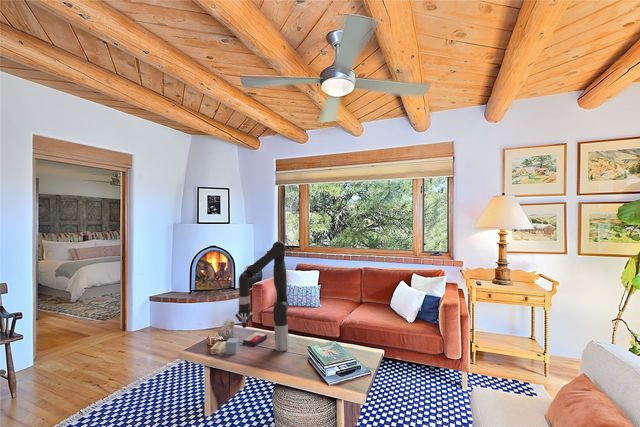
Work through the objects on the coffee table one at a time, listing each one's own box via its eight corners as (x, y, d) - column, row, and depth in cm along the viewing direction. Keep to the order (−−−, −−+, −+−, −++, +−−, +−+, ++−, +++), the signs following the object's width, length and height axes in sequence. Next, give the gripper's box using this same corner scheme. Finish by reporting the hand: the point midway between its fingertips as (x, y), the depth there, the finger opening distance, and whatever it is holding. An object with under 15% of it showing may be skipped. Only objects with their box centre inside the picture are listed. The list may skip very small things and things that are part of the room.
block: (239, 349, 209) (239, 338, 209) (235, 354, 202) (235, 342, 202) (229, 349, 210) (229, 338, 210) (225, 354, 203) (225, 342, 203)
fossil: (222, 341, 219) (226, 320, 223) (212, 339, 222) (217, 318, 227) (235, 340, 232) (239, 320, 237) (226, 338, 236) (230, 318, 241)
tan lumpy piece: (225, 346, 215) (225, 341, 215) (219, 354, 203) (219, 348, 203) (217, 346, 215) (217, 341, 215) (210, 353, 203) (210, 348, 203)
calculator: (242, 339, 219) (255, 331, 232) (243, 345, 219) (255, 336, 233) (254, 341, 214) (267, 333, 228) (255, 347, 214) (267, 339, 228)
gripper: (255, 300, 210) (255, 325, 209) (236, 300, 210) (236, 325, 210) (252, 303, 202) (252, 329, 202) (233, 303, 203) (233, 329, 203)
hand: (244, 327), depth 206 cm, fingers closed
